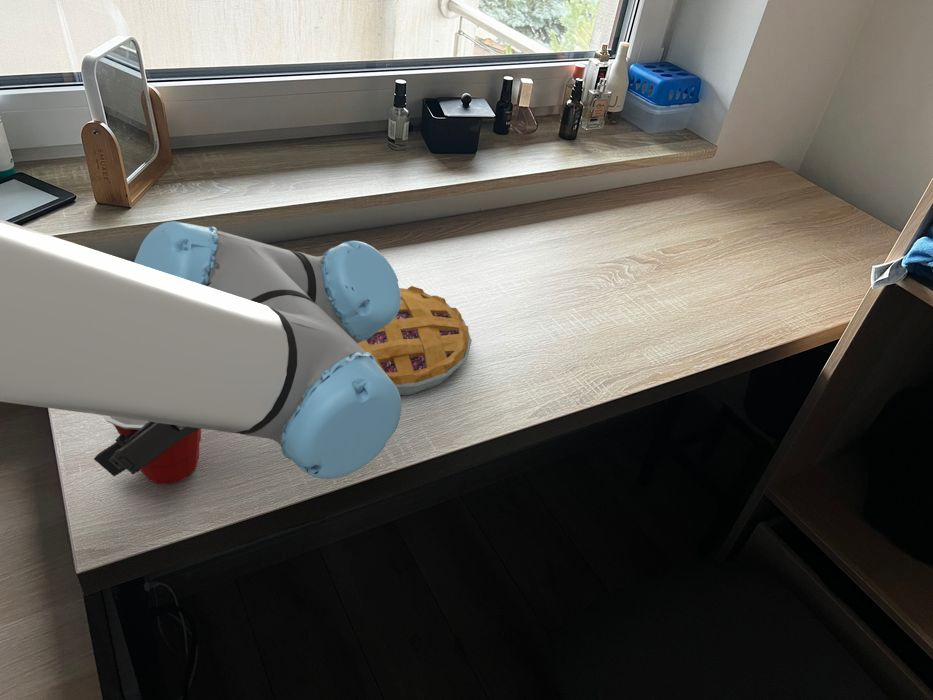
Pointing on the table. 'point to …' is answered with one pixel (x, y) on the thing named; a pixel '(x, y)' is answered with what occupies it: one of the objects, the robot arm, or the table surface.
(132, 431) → the plastic cup
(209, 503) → the table surface
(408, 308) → the pie
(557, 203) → the table surface
